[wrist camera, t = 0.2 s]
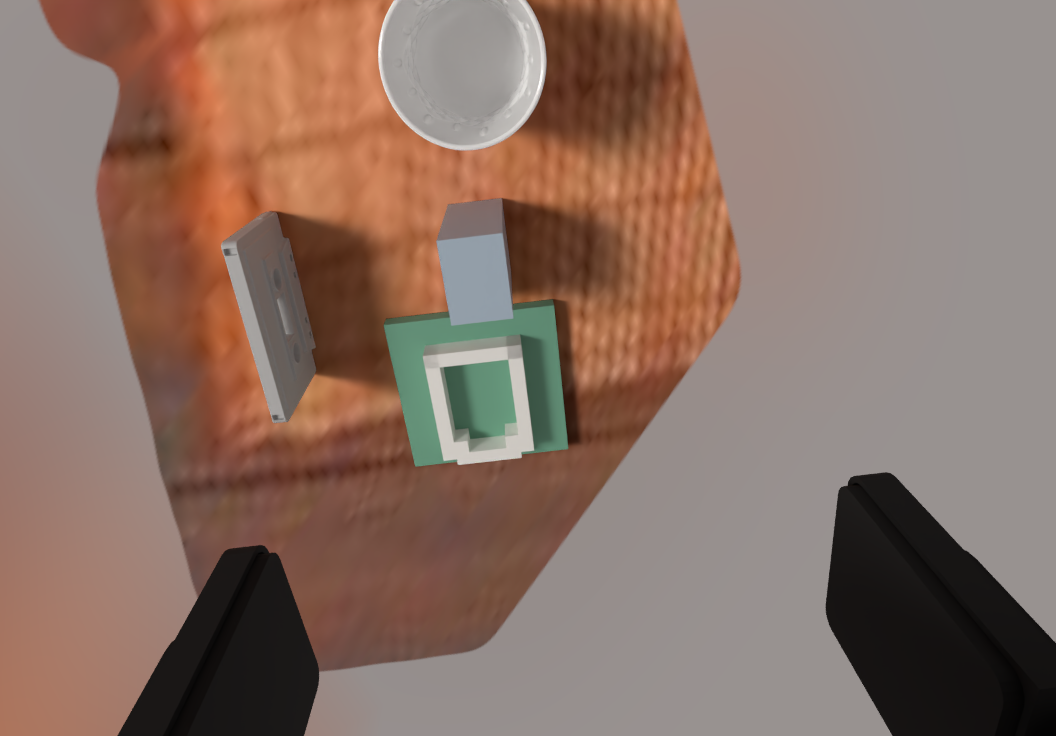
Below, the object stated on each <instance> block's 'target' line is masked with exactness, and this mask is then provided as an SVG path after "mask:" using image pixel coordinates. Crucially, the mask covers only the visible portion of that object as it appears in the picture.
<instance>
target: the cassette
mask: <svg viewBox="0 0 1056 736" xmlns="http://www.w3.org/2000/svg"><path fill="white" fill-rule="evenodd" d="M221 249H222V251H223V254H224V258H225V261H226V265H227V268H228V271H229V275H230V278H231V282H232V285H233V288H234V292H235V295H236V298H237V302H238V305H239V309H240V312H241V315H242V319H243V322H244V326H245V329H246V332H247V336H248V339H249V343H250V346H251V349H252V353H253V356H254V359H255V363H256V366H257V370H258V373H259V376H260V380H261V383H262V387H263V390H264V393H265V397H266V400H267V403H268V407H269V410H270V414H271V417H272V421H273V423H280V422H288V421H289V419H290V418H291V416H292V414H293V412H294V410H295V409H296V407H297V405H298V403H299V401H300V400H301V398H302V396H303V394H304V392H305V391H306V389H307V387H308V385H309V383H310V382H311V380H312V378H313V376H314V374H315V373H316V366H315V362H314V358H313V354H312V349H314V348H316V346H315V342H314V338H313V334H312V330H311V326H310V322H309V318H308V314H307V310H306V306H305V302H304V298H303V293H302V289H301V285H300V281H299V277H298V273H297V269H296V265H295V261H294V257H293V253H292V249H291V245H290V241H289V238H284V237H283V234H282V230H281V226H280V222H279V218H278V215H277V213H276V212H271V211H270V212H265V213H262V214H261V215H259V216H258V217H257V218H255V219H254V220H252V221H251V222H250V223H248V224H247V225H245V226H244V227H243V228H241V229H240V230H238V231H237V232H236V233H234V234H233V235H232V236H230V237H229V238H227V239H226V240H225V241H223V242H222V245H221Z"/></svg>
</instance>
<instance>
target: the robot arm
mask: <svg viewBox="0 0 1056 736" xmlns="http://www.w3.org/2000/svg"><path fill="white" fill-rule="evenodd" d="M826 615H827V619H828V622H829V625H830V627H831V630H832V632H833V633H834V635H835V637H836V638H837V640H838V642H839V644H840V645H841V647H842V649H843V651H844V652H845V654H846V655H847V657H848V659H849V661H850V663H851V664H852V666H853V668H854V670H855V671H856V673H857V675H858V677H859V678H860V680H861V682H862V684H863V685H864V687H865V689H866V691H867V692H868V694H869V696H870V697H871V699H872V701H873V702H874V704H875V706H876V708H877V710H878V711H879V713H880V715H881V716H882V718H883V720H884V722H885V724H886V725H887V727H888V729H889V730H890V732H891V734H892V736H1056V643H1055V642H1054V641H1053V640H1052V639H1051V638H1050V637H1049V635H1048V634H1047V633H1045V631H1044V630H1043V629H1042V628H1041V627H1040V626H1039V625H1038V624H1037V623H1036V622H1035V621H1034V620H1033V618H1032V617H1031V616H1030V615H1029V614H1028V613H1027V612H1026V611H1025V610H1024V609H1023V608H1022V607H1021V606H1020V605H1019V604H1018V603H1017V602H1016V600H1015V599H1014V598H1013V597H1012V596H1011V595H1010V594H1009V593H1008V592H1007V591H1006V590H1005V589H1004V588H1003V587H1002V586H1001V585H1000V584H999V582H998V581H996V579H995V578H994V577H993V576H992V575H991V574H990V573H989V572H988V571H987V570H986V569H985V568H984V567H983V565H982V564H980V562H979V561H978V560H977V559H976V558H975V557H973V556H972V555H971V554H970V553H969V552H967V551H965V550H963V549H962V547H961V546H960V545H959V544H958V543H957V542H956V541H955V540H954V539H953V538H952V537H951V536H950V535H949V534H948V533H947V531H945V529H944V528H943V527H942V526H941V525H940V524H939V523H938V522H937V521H936V520H935V519H934V518H933V517H932V516H931V514H930V513H929V512H928V511H927V510H926V509H925V508H924V507H923V506H922V505H921V504H920V503H919V502H918V500H917V499H916V498H915V497H914V496H913V495H912V494H911V493H910V492H909V491H908V490H907V489H906V488H905V487H904V486H903V484H902V483H901V482H900V481H899V480H898V479H897V478H896V477H895V476H894V475H892V474H891V473H877V474H868V475H860V476H853V477H851V478H850V480H849V481H848V486H844V487H841V488H840V490H839V493H838V501H837V510H836V518H835V527H834V537H833V545H832V554H831V564H830V572H829V582H828V590H827V598H826ZM318 682H319V668H318V663H317V660H316V658H315V655H314V652H313V649H312V646H311V644H310V641H309V638H308V635H307V633H306V630H305V627H304V624H303V621H302V619H301V616H300V613H299V610H298V608H297V605H296V602H295V599H294V596H293V594H292V591H291V588H290V585H289V583H288V580H287V577H286V574H285V571H284V569H283V566H282V563H281V560H280V558H279V556H278V555H277V554H276V553H269V552H268V550H267V548H266V547H265V546H262V545H258V546H250V547H241V548H233V549H228V550H226V551H225V552H224V553H223V554H222V556H221V558H220V560H219V561H218V563H217V565H216V567H215V569H214V570H213V572H212V574H211V576H210V578H209V579H208V581H207V583H206V585H205V587H204V588H203V590H202V592H201V594H200V596H199V597H198V599H197V601H196V603H195V605H194V606H193V608H192V610H191V612H190V614H189V615H188V617H187V619H186V621H185V623H184V624H183V626H182V628H181V630H180V632H179V633H178V635H177V637H176V639H175V640H174V641H173V642H172V643H171V644H170V645H169V647H168V648H167V649H166V651H165V652H164V654H163V656H162V658H161V659H160V661H159V663H158V665H157V667H156V668H155V670H154V672H153V674H152V675H151V677H150V679H149V681H148V683H147V684H146V686H145V688H144V690H143V691H142V693H141V695H140V697H139V698H138V700H137V702H136V704H135V706H134V708H133V709H132V711H131V713H130V715H129V716H128V718H127V720H126V722H125V724H124V725H123V727H122V729H121V731H120V732H119V734H118V736H304V734H305V730H306V727H307V723H308V719H309V716H310V713H311V709H312V706H313V702H314V699H315V695H316V692H317V688H318Z"/></svg>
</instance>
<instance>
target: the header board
mask: <svg viewBox="0 0 1056 736" xmlns="http://www.w3.org/2000/svg"><path fill="white" fill-rule="evenodd" d="M384 329H385V334H386V338H387V343H388V347H389V352H390V356H391V360H392V365H393V369H394V374H395V378H396V383H397V387H398V391H399V396H400V400H401V405H402V409H403V414H404V418H405V423H406V427H407V431H408V436H409V440H410V445H411V449H412V454H413V458H414V462H415V466H424V465H432V464H441V463H450V462H458V465H462V464H471V463H480V462H488V461H497V460H506V459H514V458H522V455H521V454H528V453H537V452H546V451H555V450H563V449H568V442H567V432H566V421H565V411H564V401H563V391H562V381H561V371H560V360H559V350H558V340H557V330H556V320H555V310H554V303H553V299H551V300H542V301H534V302H525V303H517V304H513V319H505V320H496V321H487V322H479V323H470V324H462V325H453V326H451V321H450V315H449V312H440V313H432V314H423V315H415V316H406V317H398V318H389V319H386V321H385V323H384Z"/></svg>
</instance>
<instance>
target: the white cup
mask: <svg viewBox="0 0 1056 736" xmlns="http://www.w3.org/2000/svg"><path fill="white" fill-rule="evenodd" d="M378 60H379V69H380V75H381V79H382V83H383V86H384V89H385V92H386V94H387V96H388V98H389V100H390V102H391V104H392V106H393V108H394V109H395V111H396V112H397V114H398V115H399V116H400V117H401V119H402V120H403V121H404V122H405V123H406V124H407V125H408V126H409V127H410V128H411V129H412V130H413V131H414V132H416V133H417V134H418V135H420V136H421V137H423V138H424V139H426V140H428V141H430V142H432V143H434V144H436V145H439V146H442V147H445V148H449V149H455V150H477V149H483V148H487V147H490V146H493V145H495V144H498V143H500V142H502V141H503V140H505V139H507V138H508V137H510V136H511V135H513V134H514V133H515V132H516V131H517V130H518V129H519V128H520V127H521V126H522V125H523V124H524V123H525V122H526V121H527V120H528V118H529V117H530V115H531V114H532V112H533V111H534V109H535V107H536V105H537V103H538V101H539V99H540V96H541V93H542V90H543V86H544V82H545V76H546V65H547V58H546V47H545V41H544V37H543V33H542V30H541V27H540V24H539V22H538V20H537V18H536V15H535V14H534V12H533V10H532V8H531V7H530V5H529V4H528V2H527V1H526V0H394V2H393V3H392V5H391V7H390V8H389V10H388V12H387V15H386V17H385V19H384V22H383V25H382V29H381V33H380V39H379V48H378Z"/></svg>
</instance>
